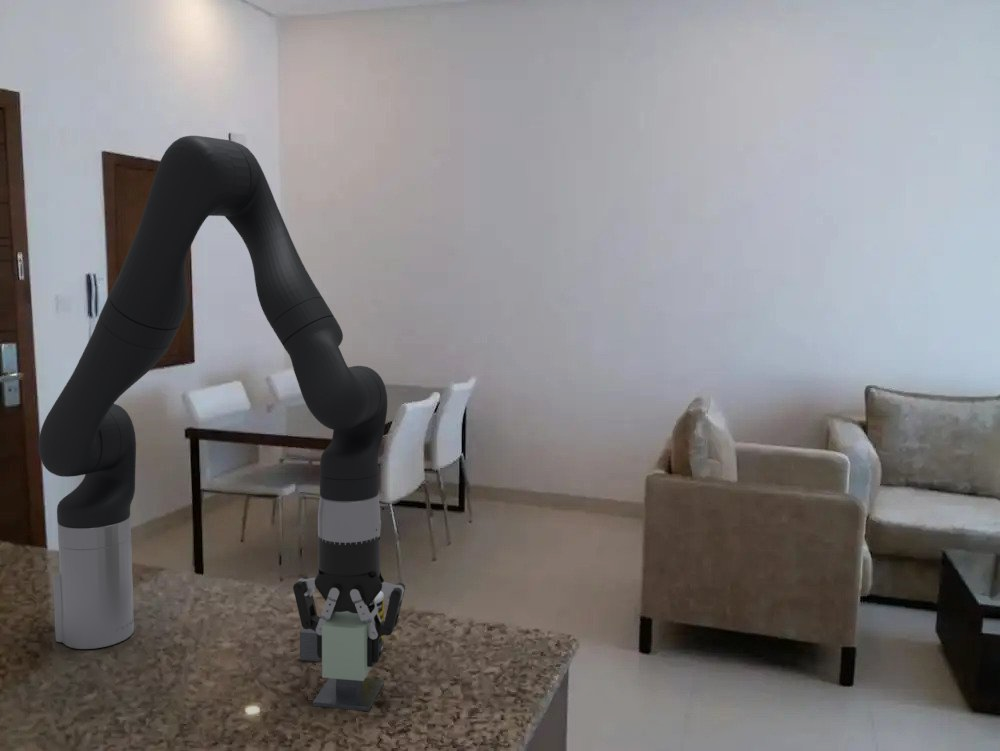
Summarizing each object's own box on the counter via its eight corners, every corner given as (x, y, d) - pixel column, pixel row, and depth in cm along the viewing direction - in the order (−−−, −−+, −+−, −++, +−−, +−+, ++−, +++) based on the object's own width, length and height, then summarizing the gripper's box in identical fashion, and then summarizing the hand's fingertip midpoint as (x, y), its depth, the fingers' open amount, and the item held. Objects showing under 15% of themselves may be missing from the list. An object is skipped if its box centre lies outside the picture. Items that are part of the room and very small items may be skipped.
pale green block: (322, 677, 101) (321, 625, 101) (335, 658, 107) (335, 608, 106) (363, 680, 101) (363, 628, 100) (375, 661, 106) (375, 611, 105)
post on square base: (312, 705, 101) (312, 651, 100) (331, 678, 108) (331, 627, 107) (368, 710, 100) (368, 655, 99) (383, 682, 107) (384, 631, 106)
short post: (299, 660, 113) (299, 632, 112) (306, 651, 115) (306, 624, 115) (318, 661, 113) (318, 633, 112) (324, 653, 115) (324, 625, 115)
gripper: (281, 536, 99) (282, 672, 101) (399, 543, 97) (398, 681, 99) (303, 518, 106) (304, 644, 108) (413, 524, 104) (412, 653, 106)
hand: (349, 661), depth 104 cm, fingers closed on pale green block, 5 cm apart
